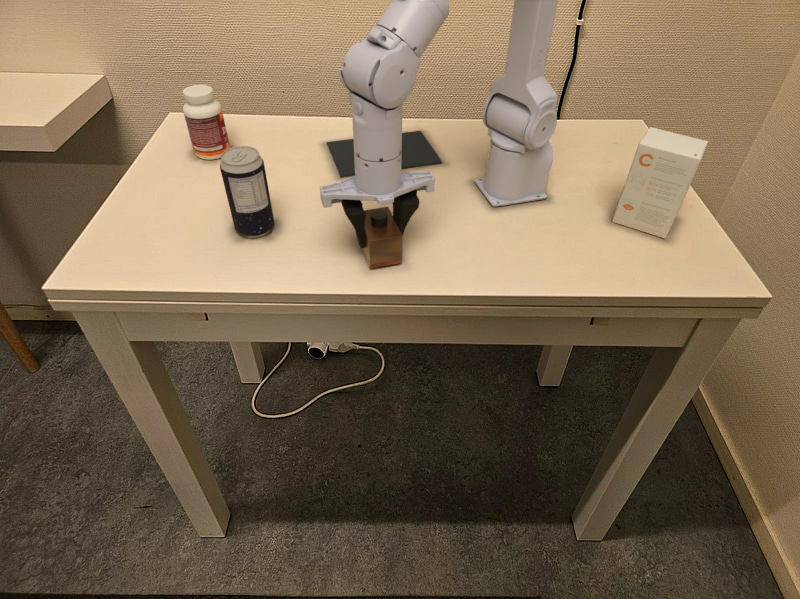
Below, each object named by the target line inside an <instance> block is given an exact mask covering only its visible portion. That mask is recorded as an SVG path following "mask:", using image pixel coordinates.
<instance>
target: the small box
mask: <svg viewBox="0 0 800 599" xmlns="http://www.w3.org/2000/svg"><path fill="white" fill-rule="evenodd" d="M708 143H709V140H705V139H700V138H697V137H693V136H689V135H685V134H681V133H677V132H673V131H668V130H664V129H660V128H656V127H652V126H650V127H649V128H648V130H646V132H645V134H644V136H642V137H641V140H640V141H639V142H638V144H637V148H636V151H635V153H634V157H633V160H632V162H631V165H630V168H629V171H628V174H627V176H626V180H625V182H624V185H623V188H622V190H621V194H620V196H619V199H618V202H617V205H616V208H615V211H614V213H613V217H612V221H611V222H612V223H615V224H619V225H621V226H623V227H624V226H625V227H627V228H630V229H634V230H637V231H640V232H643V233H646V234H650V235H653V236H655V237H658V238H662V239H666V238H667V237H668V235H669V232H670V230H671V229H672V226H673V224H674V222H675V220H676V218H677V215H678V213H679V211H680V209H681V208H682V205H683V202H684V200H685V198H686V196H687V193H688V192H689V189H690V187H691V184H692V182H693V181H694V177H695V175H696V173H697V170H698V169H699V166H700V163H701V162H702V158H703V157H704V154H705V151H706V149H707V146H708Z"/></svg>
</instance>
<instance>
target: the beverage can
mask: <svg viewBox="0 0 800 599" xmlns="http://www.w3.org/2000/svg"><path fill="white" fill-rule="evenodd" d="M264 162H265V161H264V158H262V156H261V155H260V151H259V150H258V149H257V148H255V147H252V146H248V145H237V146H233V147H230V149H227V150H226V151H224V152H223V153H222V155H221V158H220V163H219V169H220V170H219V171H220V174H221V177H222V182H223V186H224V190H225V194H226V199H227V202H228V206H229V211H230V215H231V219H232V222H233V223H232V224H233V228H234V231H235V232H237V233H238V234H239V235H241V236H243V237H245V238H249V239H258V238H261V237H264V236H265V235H267V234H268V233H269V232H270V231H271V230H272V229H273V228H274V226H275V218H274V217H275V216H274V211H273V207H272V206H273V205H272V200H271V195H270V190H269V184H268V178H267V172H266V167H265V163H264Z"/></svg>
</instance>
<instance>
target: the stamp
mask: <svg viewBox="0 0 800 599" xmlns="http://www.w3.org/2000/svg"><path fill="white" fill-rule="evenodd" d="M364 212H365V214H366V217H365V229H364V231H365V248H362V252H363V255H364V257H365V260H366V262H367V264H368V268H369V269H374V268H375V269H376V268H380V267H386V266H391V265H392V266H393V265H397V264H402V263H403V236H404V235H403V236H402V234H401V232H400V230H399V228H398V226H397V224H396V222H395V220H394V218H393V212H391V209H390V207H389V206H383V207H377V208H370V209H369V208H368V209H364Z"/></svg>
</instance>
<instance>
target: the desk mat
mask: <svg viewBox="0 0 800 599" xmlns="http://www.w3.org/2000/svg"><path fill="white" fill-rule="evenodd" d="M326 145H327V148H328V150H329V153H330V155H331V158H332V160H333V163H334V165H335V167H336V170H337V172H338V175H339V177H340V178H345V177H353V176H355V161H354V140H353V138H350V139H349V138H348V139H341V140H332V141H326ZM441 164H443V161H442V159H441V158H440V156H439V154H438V153H437V152H436V150H435V149H434V148H433V146H432V145H431V143H430V142H429V141H428V139H427V138H426V136H425V135H424V133H423V131H421V130H417V131H416V130H415V131H407V132H402V160H401V170H405V169H412V168H420V167H428V166H434V165H441Z"/></svg>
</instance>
